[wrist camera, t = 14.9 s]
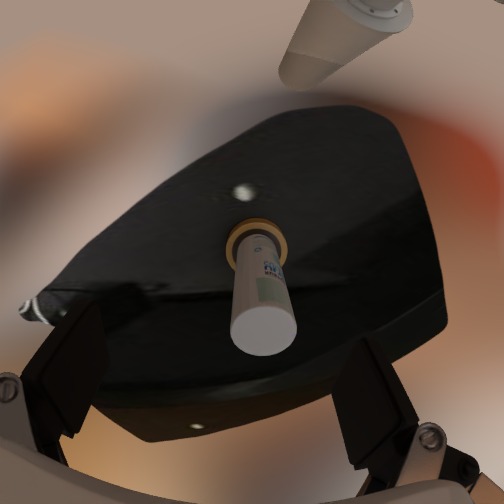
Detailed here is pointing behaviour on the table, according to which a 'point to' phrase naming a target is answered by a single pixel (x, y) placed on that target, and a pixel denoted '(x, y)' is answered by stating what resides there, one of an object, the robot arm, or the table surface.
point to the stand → (252, 228)
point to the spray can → (260, 300)
